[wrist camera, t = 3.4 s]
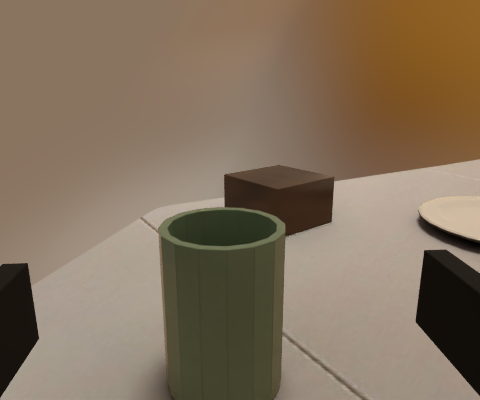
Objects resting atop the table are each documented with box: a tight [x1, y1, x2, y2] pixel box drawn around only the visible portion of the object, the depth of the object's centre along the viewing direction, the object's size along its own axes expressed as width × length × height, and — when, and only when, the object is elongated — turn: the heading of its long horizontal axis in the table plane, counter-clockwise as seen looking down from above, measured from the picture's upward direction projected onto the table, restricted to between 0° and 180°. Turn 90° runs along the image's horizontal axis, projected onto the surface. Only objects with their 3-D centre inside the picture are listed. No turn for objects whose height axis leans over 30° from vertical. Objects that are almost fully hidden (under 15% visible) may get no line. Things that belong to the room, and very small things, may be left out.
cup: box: [158, 207, 285, 400], centre depth 25 cm, size 7×7×10 cm
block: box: [224, 165, 334, 236], centre depth 55 cm, size 10×10×6 cm
